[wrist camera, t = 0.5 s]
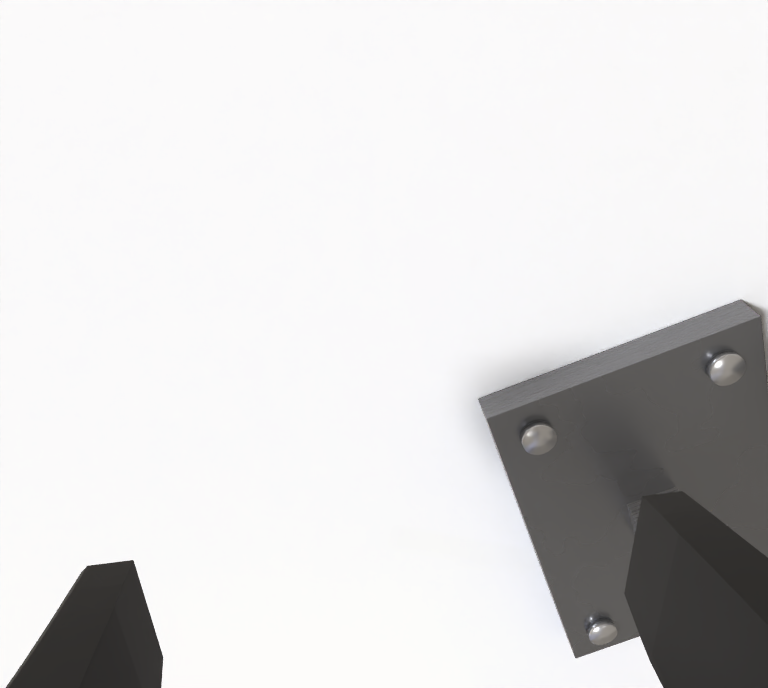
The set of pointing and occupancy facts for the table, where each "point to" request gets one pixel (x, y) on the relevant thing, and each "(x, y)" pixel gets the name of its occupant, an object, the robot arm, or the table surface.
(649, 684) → the table surface
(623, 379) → the plate
